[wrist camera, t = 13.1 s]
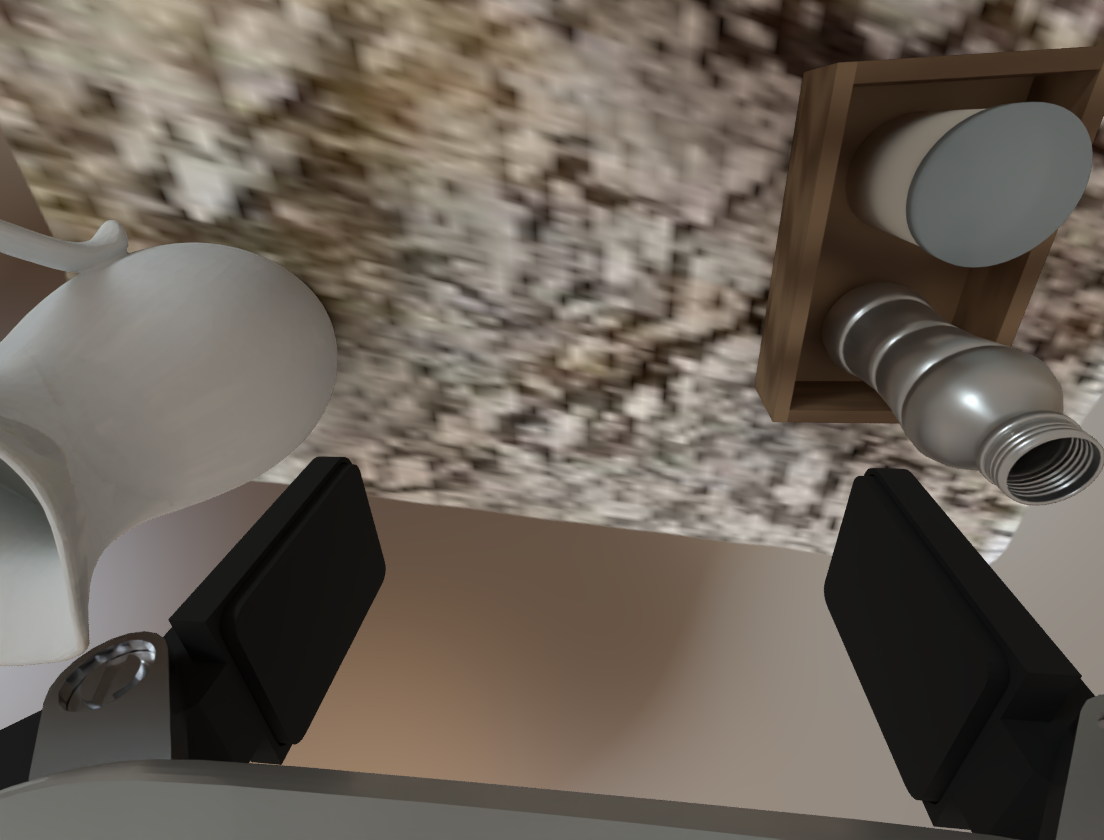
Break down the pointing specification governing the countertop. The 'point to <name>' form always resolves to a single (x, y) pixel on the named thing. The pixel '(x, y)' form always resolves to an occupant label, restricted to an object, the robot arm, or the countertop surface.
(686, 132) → the countertop surface
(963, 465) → the grey metal bottle
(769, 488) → the countertop surface
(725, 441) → the countertop surface
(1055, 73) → the crate
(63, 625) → the pitcher
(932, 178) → the jar
